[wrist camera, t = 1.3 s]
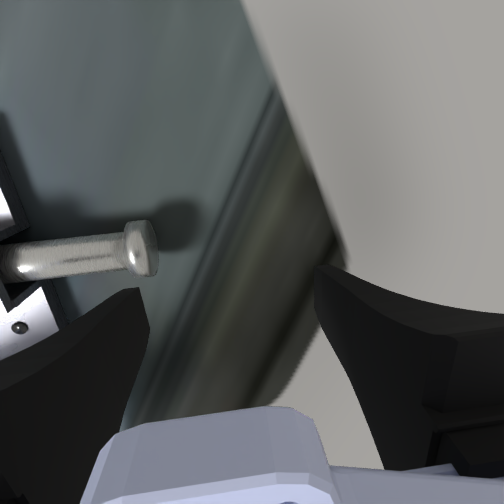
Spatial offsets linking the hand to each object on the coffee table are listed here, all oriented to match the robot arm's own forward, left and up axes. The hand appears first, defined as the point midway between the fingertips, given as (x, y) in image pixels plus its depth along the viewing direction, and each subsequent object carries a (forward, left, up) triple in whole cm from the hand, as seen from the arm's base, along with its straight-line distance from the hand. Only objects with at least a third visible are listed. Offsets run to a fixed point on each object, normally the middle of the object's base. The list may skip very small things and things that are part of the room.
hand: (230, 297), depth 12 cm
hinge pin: (0, +12, -9) cm, 15 cm away
